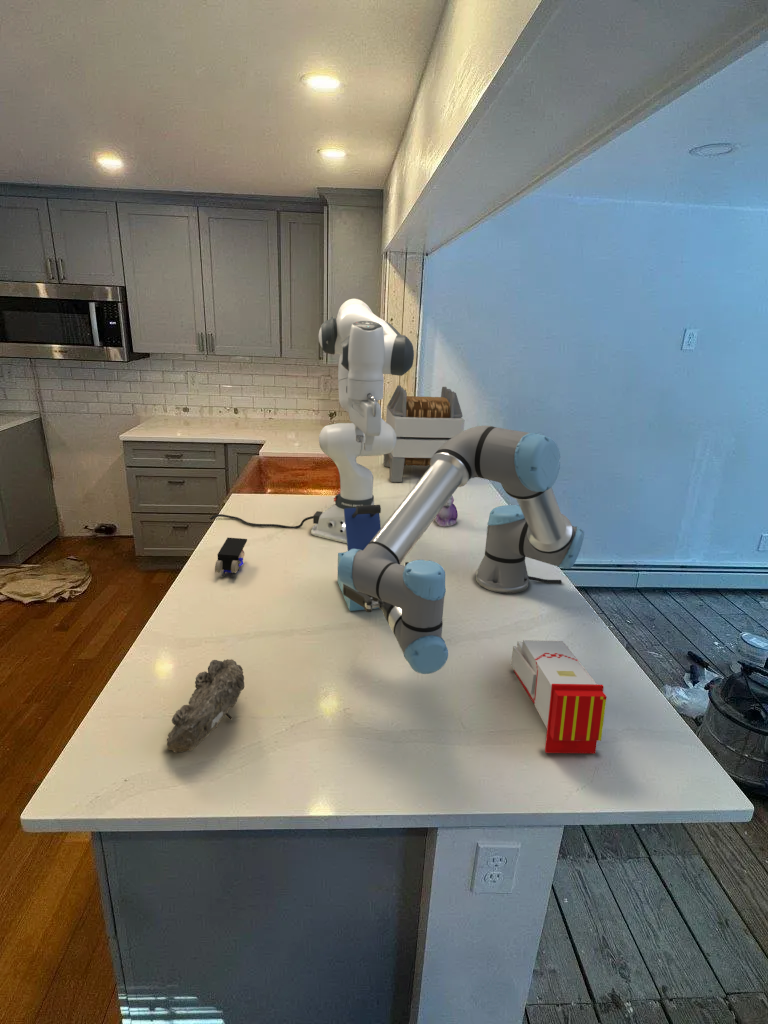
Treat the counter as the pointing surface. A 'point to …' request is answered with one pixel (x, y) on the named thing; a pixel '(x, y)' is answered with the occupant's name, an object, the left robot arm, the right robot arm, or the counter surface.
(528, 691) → the toy
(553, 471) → the right robot arm
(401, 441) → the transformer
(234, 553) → the figurine character
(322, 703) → the counter surface
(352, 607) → the chest
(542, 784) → the counter surface
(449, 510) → the figurine
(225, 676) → the fossil
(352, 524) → the lid
